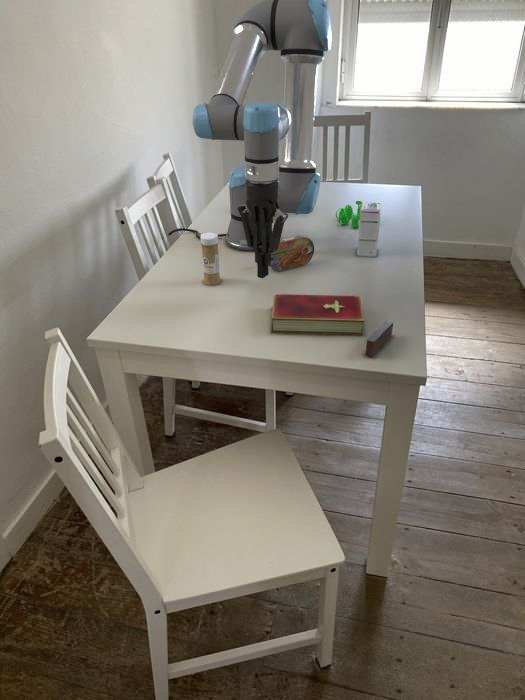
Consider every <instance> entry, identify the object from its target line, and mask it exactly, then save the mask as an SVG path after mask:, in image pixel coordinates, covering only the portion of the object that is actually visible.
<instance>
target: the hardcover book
mask: <svg viewBox="0 0 525 700" xmlns="http://www.w3.org/2000/svg"><path fill="white" fill-rule="evenodd" d="M271 309H272V311H271V318H270V319H271V321H272V322H271V334H298V335H299V334H300V335H335V336H336V335H339V336H363V335H364V333H363V327H362V326H363V323H365V317H364V311H363V306H362V300H361V295H334V294H333V295H330V294H329V295H327V294H286V293H283V294H282V293H273V300H272V307H271Z"/></svg>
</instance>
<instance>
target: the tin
mask: <svg viewBox="0 0 525 700" xmlns="http://www.w3.org/2000/svg"><path fill="white" fill-rule="evenodd" d="M314 253H315V244H314V242H313V240H311V239H310V238H309V237H306V236H304V235H296V236H291V237H288V238H284V239H280V243H279V247H278V250H276V251H274V252H272V253H271V263H270V264H269V268H270V269H271V270H273V271H275V272H282V271H287V270H290V269H293V268H298V267H301V266H305V265H306V264H308V263H309V262H310V261H311V260H312V258H313V256H314Z"/></svg>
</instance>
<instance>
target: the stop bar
mask: <svg viewBox="0 0 525 700" xmlns="http://www.w3.org/2000/svg"><path fill="white" fill-rule="evenodd" d="M393 328H394V321H391V320H388V319H387V320H386V321H384V323H383V324H381V326H379V327H378V328H377V330H376V331H374V332H373V333H372V334H371V335H370V336H369V337H368V339H366V347H365V354H364V355H365V356H366V357H369V358H373V357H374V356H375V355H376V354H377V353H378V352H379V351H380V350H381V349H382V348H383V346H385V344H386V343H387V342H388V341H389V340H390V339H391V338H392V336H393Z"/></svg>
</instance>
